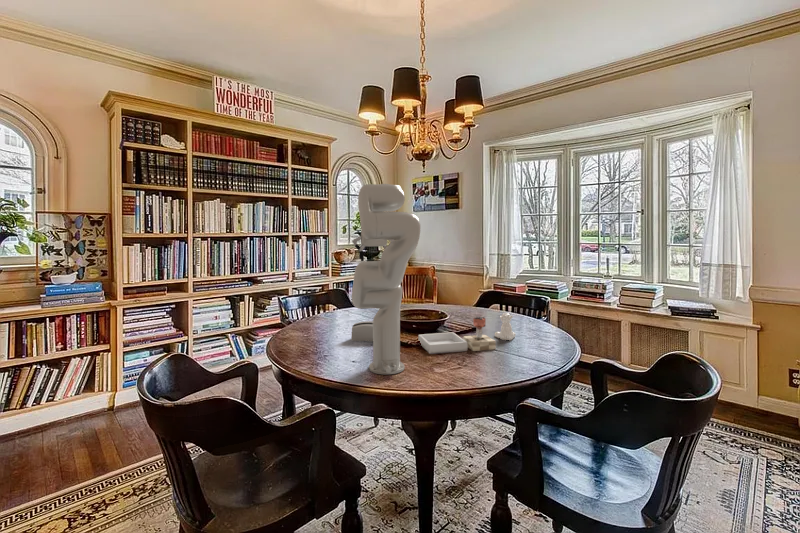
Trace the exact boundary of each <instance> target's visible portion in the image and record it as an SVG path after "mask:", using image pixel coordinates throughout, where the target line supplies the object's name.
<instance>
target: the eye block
mask: <svg viewBox="0 0 800 533" xmlns="http://www.w3.org/2000/svg"><path fill="white" fill-rule="evenodd" d="M462 339H464V340H465V341H467V349H469V350H471V351H472V352H476V351H477V352H478V351H479V352H481V351H488V350H489V351H490V350H491V351H492V350H496V349H497V348H496V344H497V340H495V339H493V338H491V337H490V336H488V335H486V334H482V340H476V335H464V336H463V338H462Z"/></svg>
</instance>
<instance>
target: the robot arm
mask: <svg viewBox="0 0 800 533" xmlns="http://www.w3.org/2000/svg"><path fill="white" fill-rule="evenodd" d="M405 200H406V199H405V193H404V191H403V189H402V187H401V185H399V184H390V183H380V184H379V183H377V184H373V183H372V184H370V183H369V184H368V183H367V184H364V185H363V186H361V187H360V189H359V191H358V195H357V203H358V204H357V205H358V213H359V220H360V229H361V232H360V236H358V237H356V238H354V239H352V241H351V242H352V244H353V246H354V247H355V248H356V249H357V250H358V251H359V253H358V254H359V255H358V256H359V260H360V262H359V263H358V264H357V265H356V267H355V270H354V275H353V282H352V289H351V301H352V304H353V306H354V307H355V308H357V309H358V310H359V309H360V310H370V309H378V311H377V312H376V314H374V317H373V319H372V321H373V341H372V349H373V350H372V358H373V360H372V362H371V363H370V364H369V365H368V370H369V371H370V372H371V373H373V374H376V375H377V374H378V375H383V376H384V375H387V376H388V375H395V374H399V373H401V372H403V371H404V370H405V364H404V363H403V362H402V361H401V307H402V299H403V287H402V285H401V284H402V283H403V280H404V276H405V273H406V270H407V265H408V262H409V260H410V259H411V257H412V255H413V254H414V253H415V250H416V249H417V246H418V244H419V240H420V237H421V236H420V235H421V222H420V220H419V217H418V216H417V215H415V214H413V213H411V212H407V211H398V210H400V209H401V208H402V207H403V206H404V204H405ZM388 241H389V244H388ZM358 242H360V244H361V245H359V244H358ZM366 247H382V248H383V249H384V250H382V253H381V255H380V260H364V259H365V258H364V257H365V256H364V251H363V250H364V249H365V248H366Z"/></svg>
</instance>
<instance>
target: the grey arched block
mask: <svg viewBox="0 0 800 533" xmlns="http://www.w3.org/2000/svg"><path fill="white" fill-rule="evenodd" d="M350 337H351V340H350V341H351V342H373V320H372V321H371V320H369V321H367V320H365V321H359V322H355V323H353V325H352V327H351V336H350Z"/></svg>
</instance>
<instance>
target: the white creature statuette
mask: <svg viewBox="0 0 800 533" xmlns="http://www.w3.org/2000/svg"><path fill="white" fill-rule="evenodd" d="M513 317H514V316H513V315H511V314H510V313H508V312H503V313H502V315H500V316H499V319H500V321H501V322H502V324H501V326H500V331H496V332H494V337H495V338H496V339H497V338H498V339H499V338H500V339H499V340H502V341H506V340H509V341H512V340H513V339H514V338H515V337H516V332H514V331H513V327H512V324H511V320H512V319H513Z"/></svg>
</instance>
